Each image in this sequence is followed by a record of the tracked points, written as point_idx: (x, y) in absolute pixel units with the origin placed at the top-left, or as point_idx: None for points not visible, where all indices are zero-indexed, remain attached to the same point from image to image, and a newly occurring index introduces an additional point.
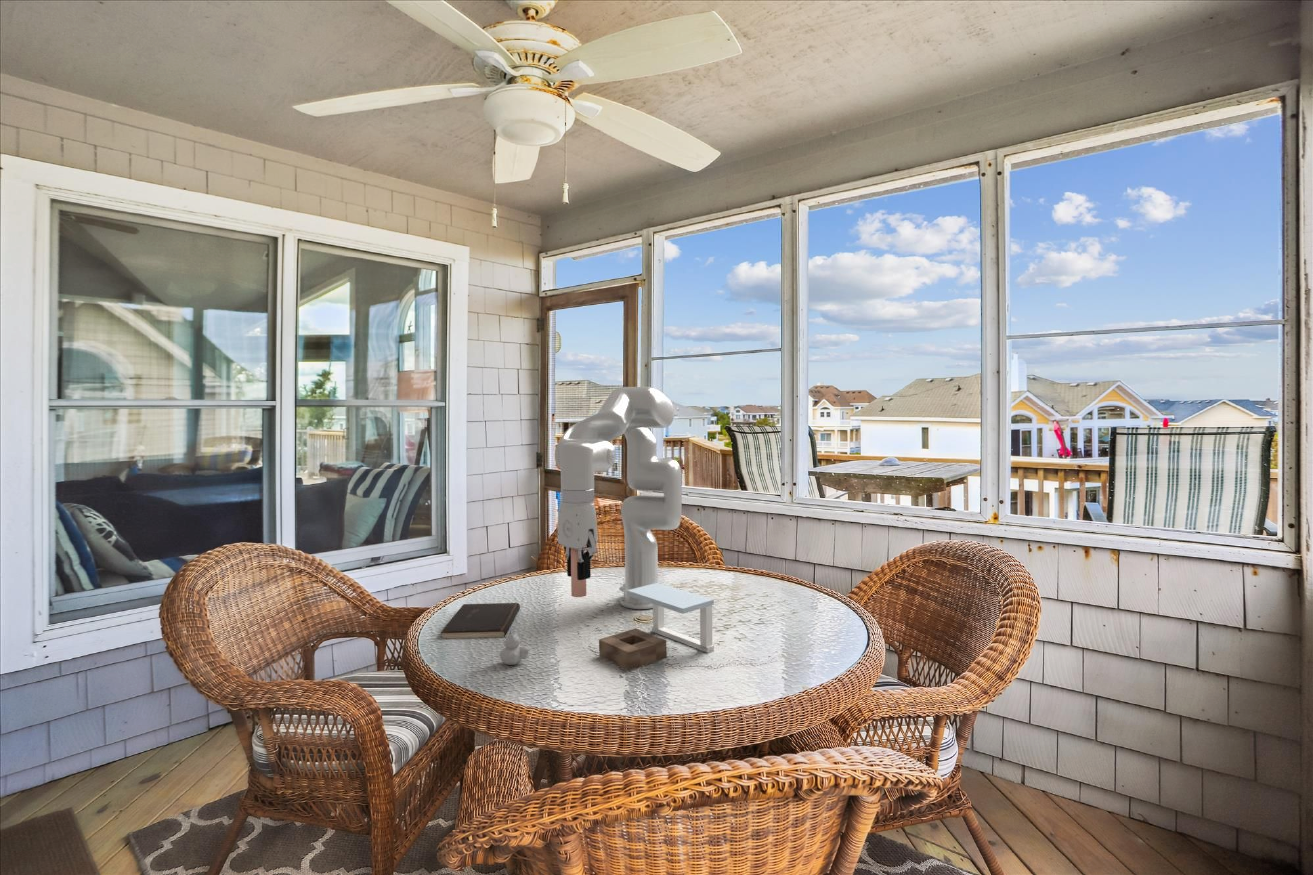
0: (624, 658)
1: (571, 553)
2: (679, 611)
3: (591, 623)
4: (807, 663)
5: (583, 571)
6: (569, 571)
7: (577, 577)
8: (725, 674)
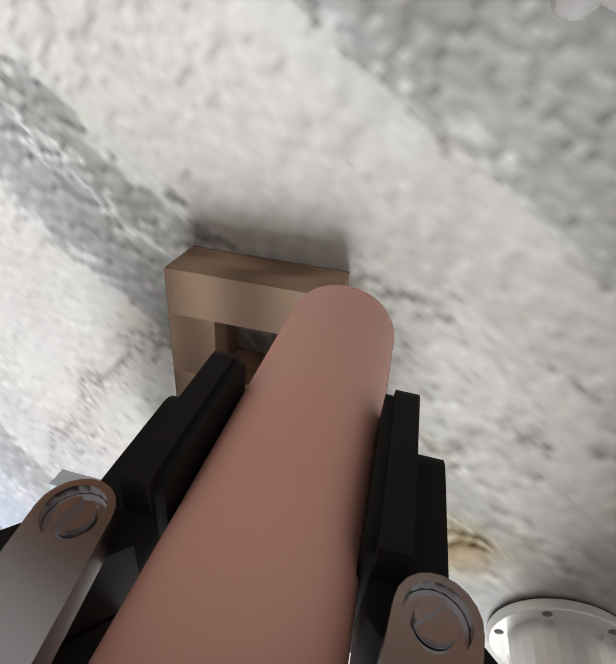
0: (201, 261)
1: (236, 633)
2: (74, 476)
3: (599, 472)
4: (16, 476)
5: (150, 421)
6: (381, 424)
7: (229, 362)
8: (43, 364)
